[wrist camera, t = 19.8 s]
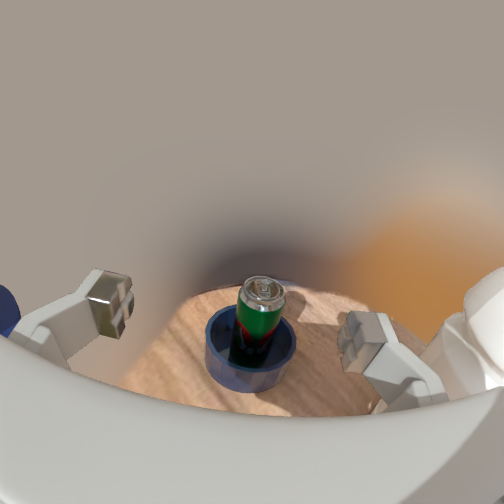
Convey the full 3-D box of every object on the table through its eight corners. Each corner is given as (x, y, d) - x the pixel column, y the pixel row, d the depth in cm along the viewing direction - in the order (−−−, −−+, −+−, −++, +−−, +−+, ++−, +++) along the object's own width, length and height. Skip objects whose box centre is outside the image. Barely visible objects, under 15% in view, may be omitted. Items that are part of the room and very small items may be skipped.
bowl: (207, 395, 29) (208, 374, 26) (202, 328, 38) (203, 303, 35) (296, 388, 31) (307, 367, 29) (276, 326, 40) (283, 303, 38)
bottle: (359, 477, 20) (566, 284, 6) (365, 387, 32) (476, 199, 17) (445, 473, 18) (609, 318, 3) (439, 397, 29) (548, 243, 15)
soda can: (265, 344, 37) (285, 276, 30) (267, 373, 32) (290, 307, 26) (229, 340, 36) (240, 271, 30) (227, 370, 32) (239, 302, 26)
